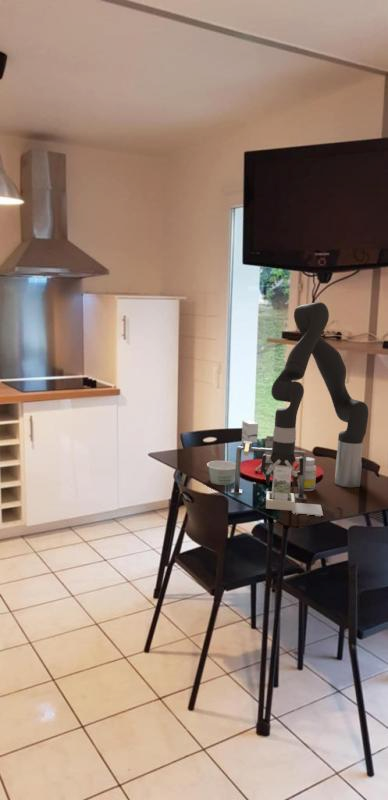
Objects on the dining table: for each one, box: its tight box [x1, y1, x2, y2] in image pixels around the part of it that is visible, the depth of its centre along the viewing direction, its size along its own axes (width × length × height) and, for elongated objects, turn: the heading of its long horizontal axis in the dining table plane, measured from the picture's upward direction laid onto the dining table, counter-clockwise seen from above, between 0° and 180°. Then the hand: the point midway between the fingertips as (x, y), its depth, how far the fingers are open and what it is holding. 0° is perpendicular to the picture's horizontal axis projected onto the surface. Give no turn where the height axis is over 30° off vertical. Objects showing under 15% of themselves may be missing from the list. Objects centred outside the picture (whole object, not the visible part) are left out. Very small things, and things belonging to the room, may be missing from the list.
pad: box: [291, 502, 324, 517], centre depth 207 cm, size 10×10×1 cm
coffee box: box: [262, 435, 273, 478], centre depth 240 cm, size 9×6×16 cm
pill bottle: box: [297, 456, 317, 492], centre depth 229 cm, size 6×6×12 cm
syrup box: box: [271, 465, 292, 501], centre depth 210 cm, size 6×6×14 cm
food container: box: [206, 460, 236, 486], centre depth 235 cm, size 12×12×6 cm
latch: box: [242, 441, 252, 456], centre depth 213 cm, size 3×15×2 cm, turn 173°
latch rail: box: [230, 445, 308, 501], centre depth 220 cm, size 27×4×17 cm, turn 83°
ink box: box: [241, 419, 259, 448], centre depth 291 cm, size 9×5×12 cm, turn 17°
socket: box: [265, 490, 296, 512], centre depth 211 cm, size 10×10×3 cm
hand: (280, 485), depth 210 cm, fingers open, 8 cm apart
